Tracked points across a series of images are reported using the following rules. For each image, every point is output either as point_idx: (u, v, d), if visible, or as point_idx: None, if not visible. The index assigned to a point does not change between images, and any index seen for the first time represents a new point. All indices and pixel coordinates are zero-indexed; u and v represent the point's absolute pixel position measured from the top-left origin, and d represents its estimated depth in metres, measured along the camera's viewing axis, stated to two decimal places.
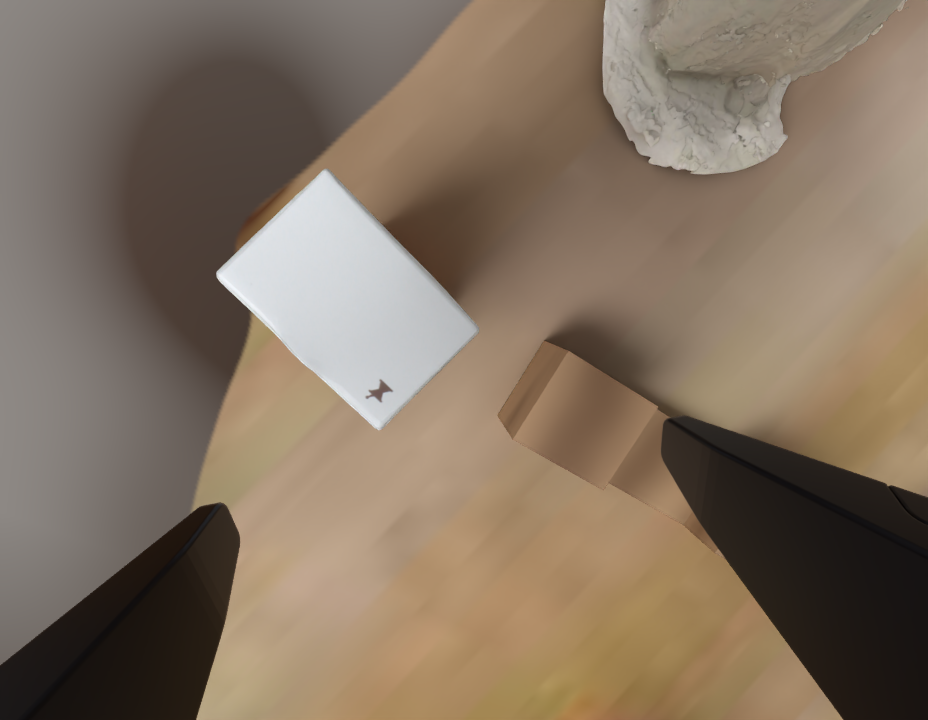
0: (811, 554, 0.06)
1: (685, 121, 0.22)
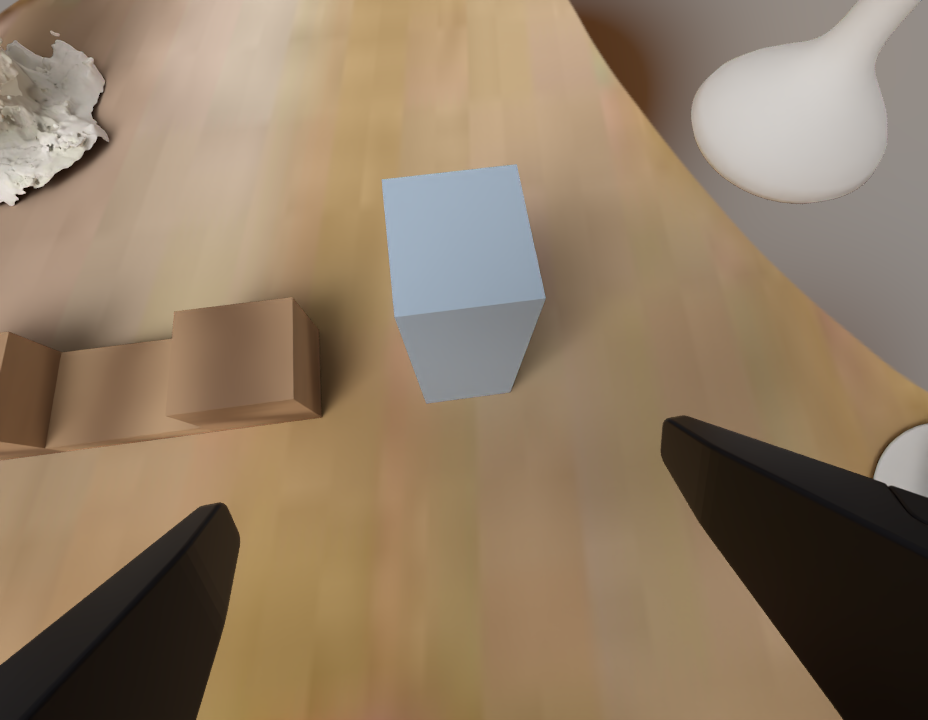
0: (811, 554, 0.06)
1: None
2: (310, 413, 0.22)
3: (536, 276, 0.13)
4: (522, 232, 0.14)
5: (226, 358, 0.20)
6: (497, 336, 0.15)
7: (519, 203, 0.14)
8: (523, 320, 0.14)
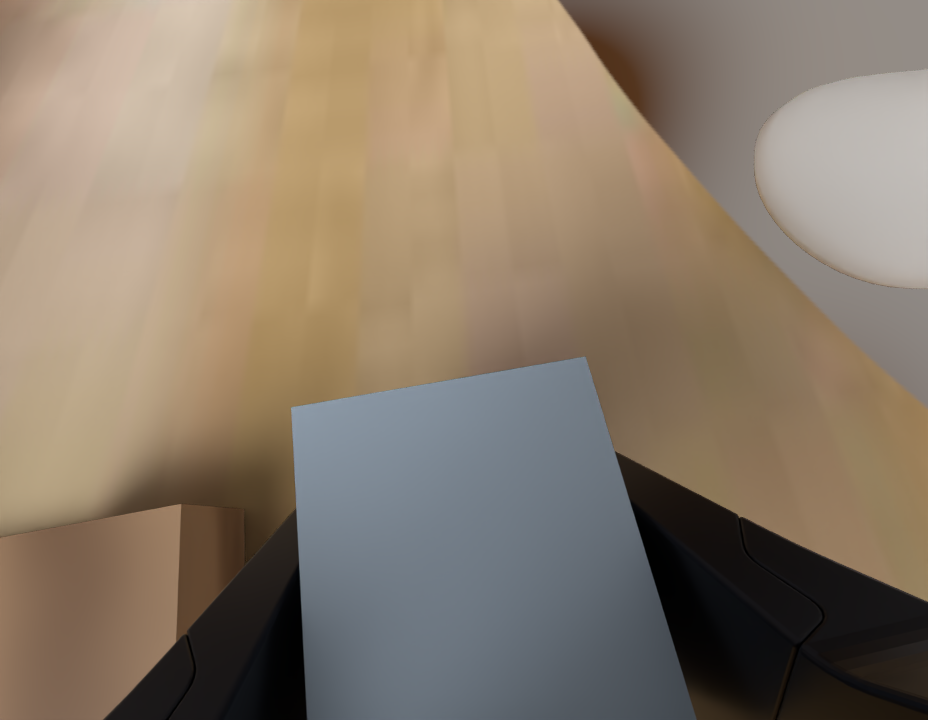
0: (665, 586, 0.06)
1: None
2: None
3: (672, 677, 0.05)
4: (621, 541, 0.06)
5: (57, 634, 0.11)
6: None
7: (605, 458, 0.06)
8: None
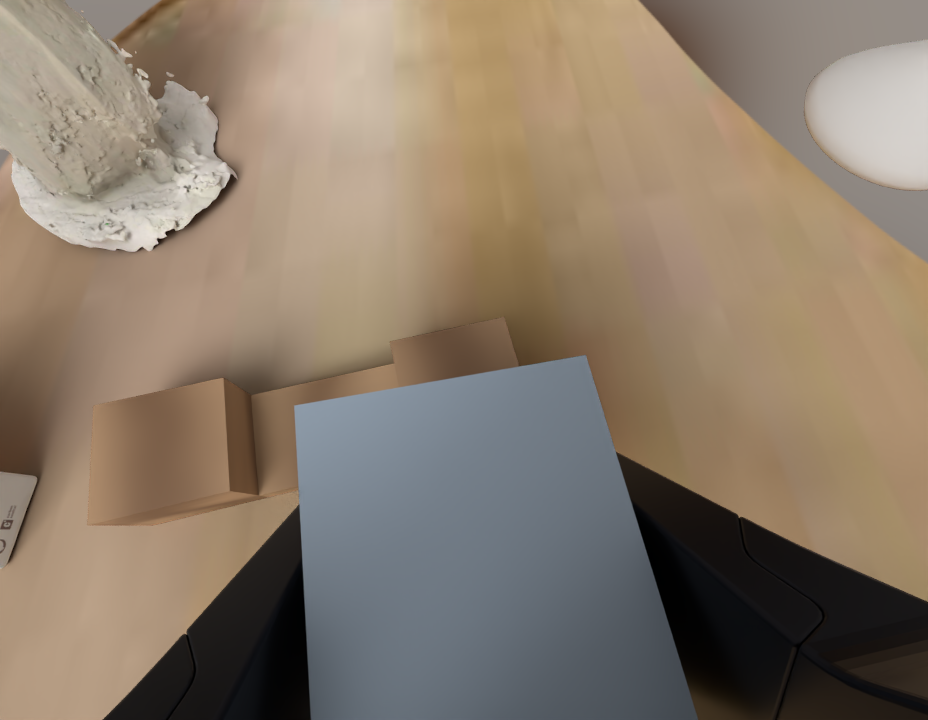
0: (665, 586, 0.06)
1: (136, 209, 0.26)
2: None
3: (672, 672, 0.05)
4: (621, 537, 0.06)
5: None
6: None
7: (605, 455, 0.06)
8: None
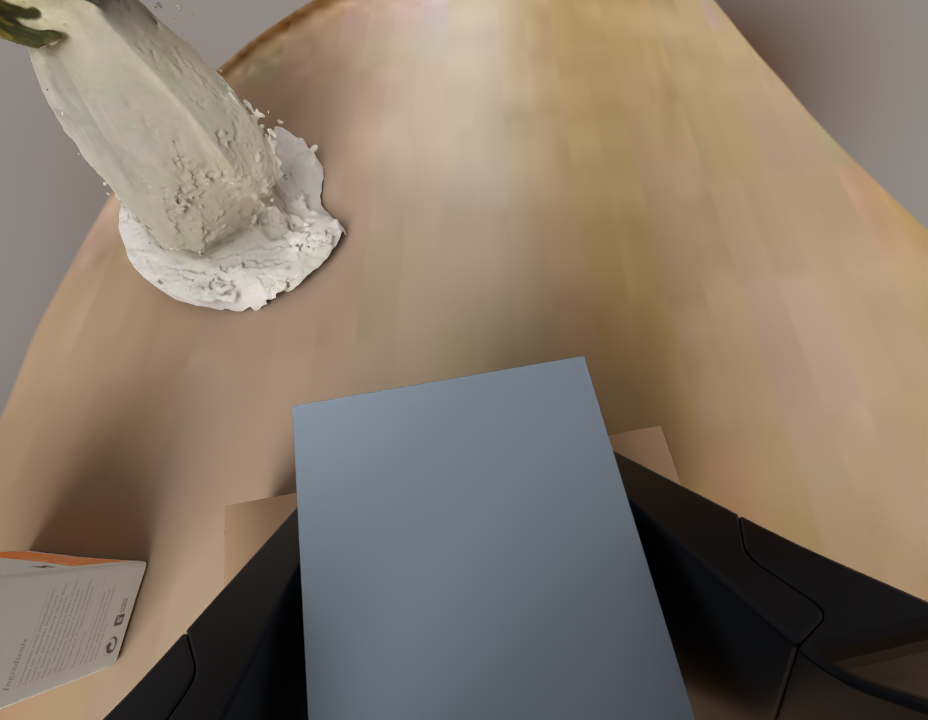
0: (665, 586, 0.06)
1: (247, 268, 0.25)
2: None
3: (669, 673, 0.05)
4: (618, 538, 0.06)
5: None
6: None
7: (602, 457, 0.06)
8: None
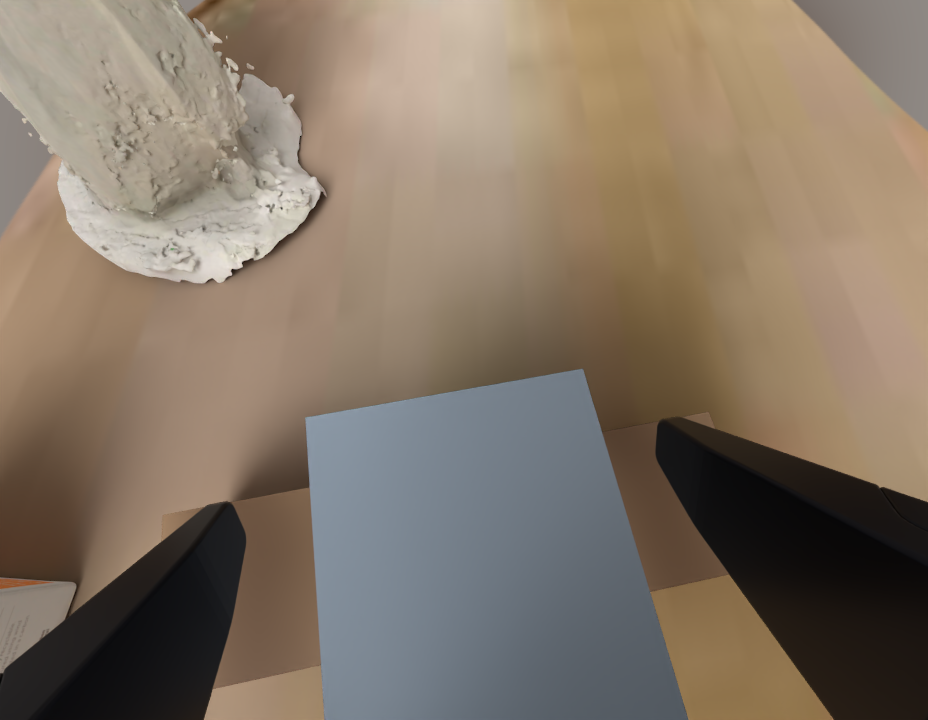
0: (803, 556, 0.06)
1: (208, 232, 0.21)
2: None
3: (663, 670, 0.06)
4: (615, 543, 0.06)
5: (654, 508, 0.14)
6: None
7: (601, 466, 0.07)
8: None
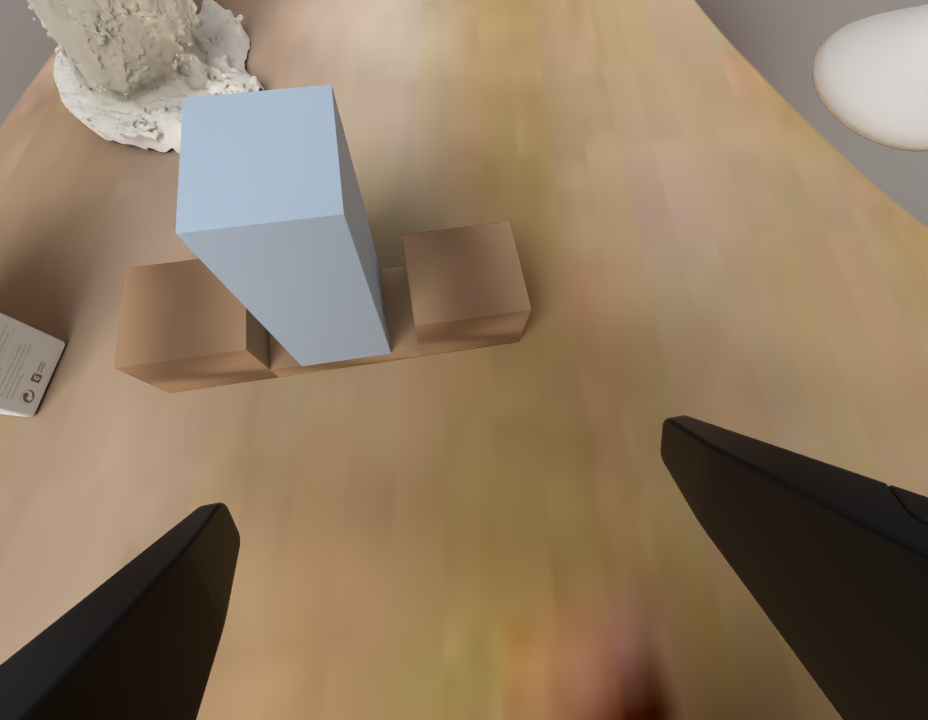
0: (811, 554, 0.06)
1: (169, 112, 0.27)
2: (517, 334, 0.23)
3: (337, 192, 0.13)
4: (328, 150, 0.13)
5: (461, 275, 0.21)
6: (322, 268, 0.15)
7: (329, 122, 0.13)
8: (338, 246, 0.14)
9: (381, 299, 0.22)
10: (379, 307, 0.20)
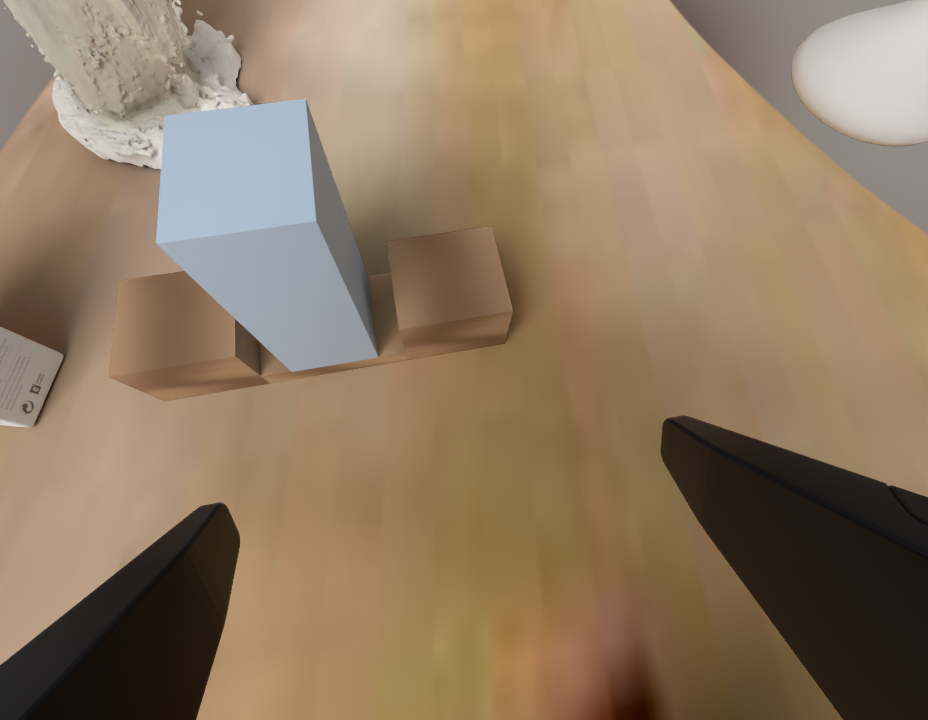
0: (811, 554, 0.06)
1: (163, 130, 0.28)
2: (502, 336, 0.24)
3: (310, 201, 0.13)
4: (301, 161, 0.14)
5: (443, 279, 0.22)
6: (301, 274, 0.15)
7: (303, 134, 0.14)
8: (314, 252, 0.14)
9: (367, 304, 0.22)
10: (363, 312, 0.20)
